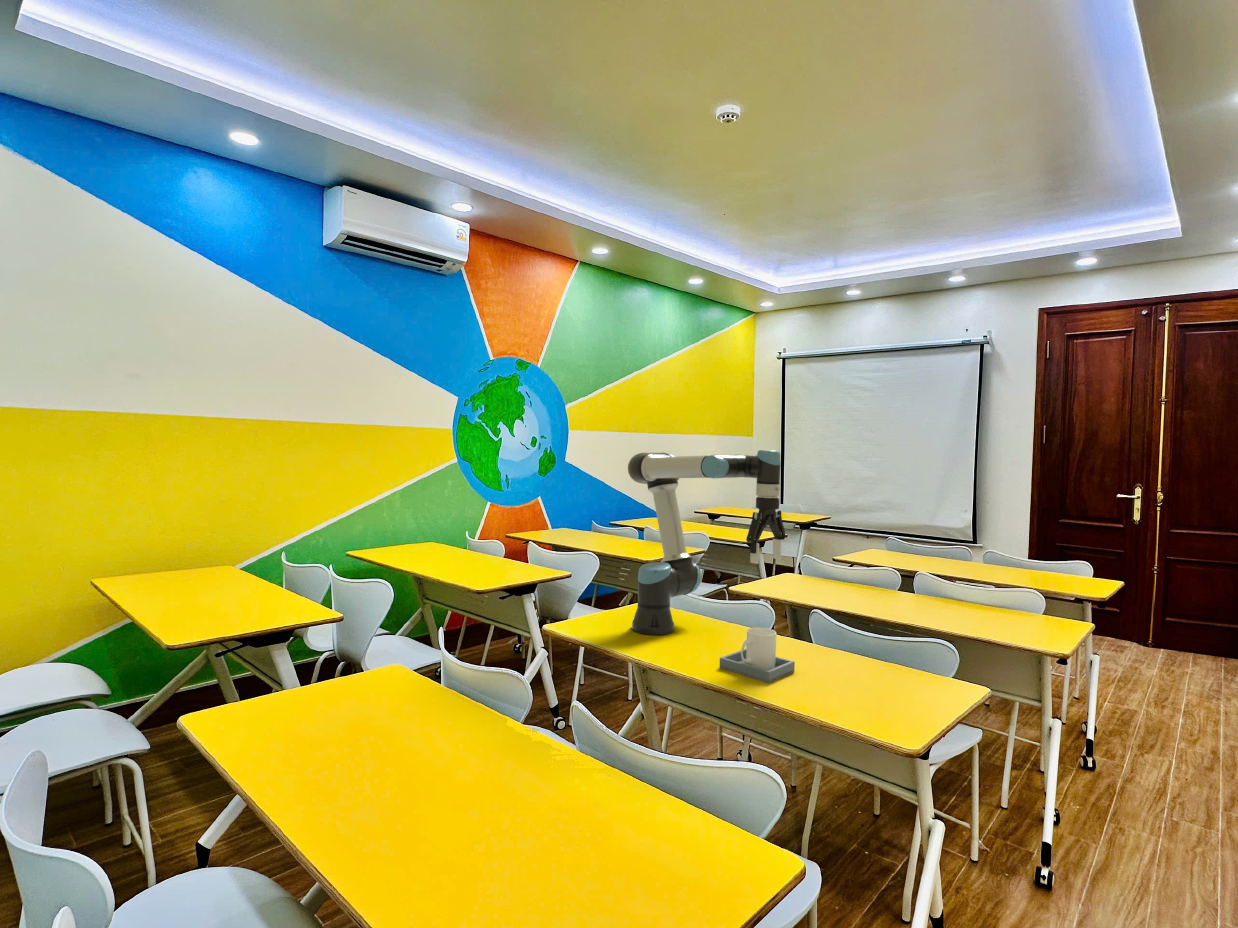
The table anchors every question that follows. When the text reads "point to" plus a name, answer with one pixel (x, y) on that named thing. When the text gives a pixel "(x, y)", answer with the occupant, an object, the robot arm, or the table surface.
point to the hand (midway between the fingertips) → (765, 560)
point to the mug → (760, 648)
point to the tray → (738, 666)
